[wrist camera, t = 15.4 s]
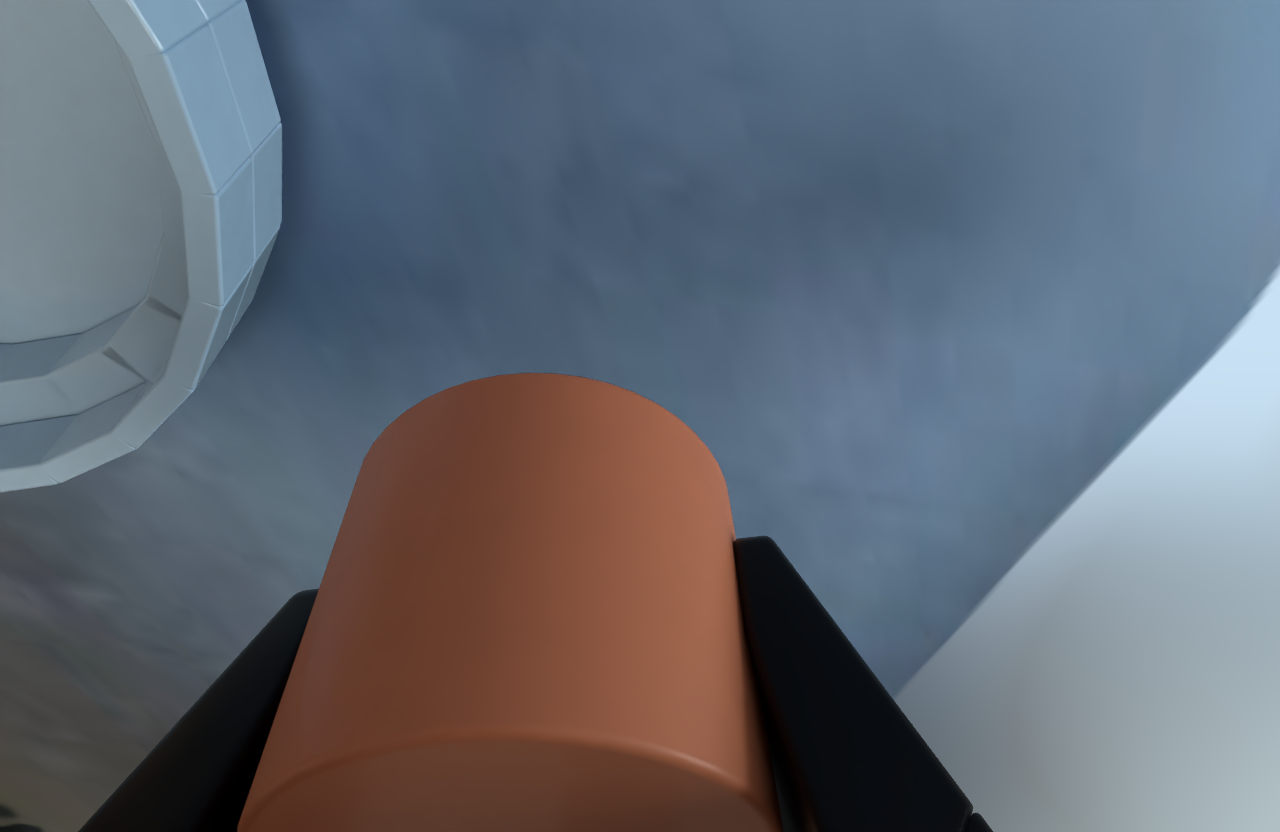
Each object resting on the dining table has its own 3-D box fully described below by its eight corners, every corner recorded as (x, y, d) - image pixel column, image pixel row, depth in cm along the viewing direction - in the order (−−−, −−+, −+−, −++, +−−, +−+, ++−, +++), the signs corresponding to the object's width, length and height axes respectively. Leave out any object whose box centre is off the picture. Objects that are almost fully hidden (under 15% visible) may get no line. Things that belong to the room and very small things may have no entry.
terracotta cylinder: (740, 607, 11) (793, 944, 8) (425, 643, 11) (355, 981, 8) (712, 342, 8) (776, 702, 5) (294, 399, 8) (114, 772, 5)
